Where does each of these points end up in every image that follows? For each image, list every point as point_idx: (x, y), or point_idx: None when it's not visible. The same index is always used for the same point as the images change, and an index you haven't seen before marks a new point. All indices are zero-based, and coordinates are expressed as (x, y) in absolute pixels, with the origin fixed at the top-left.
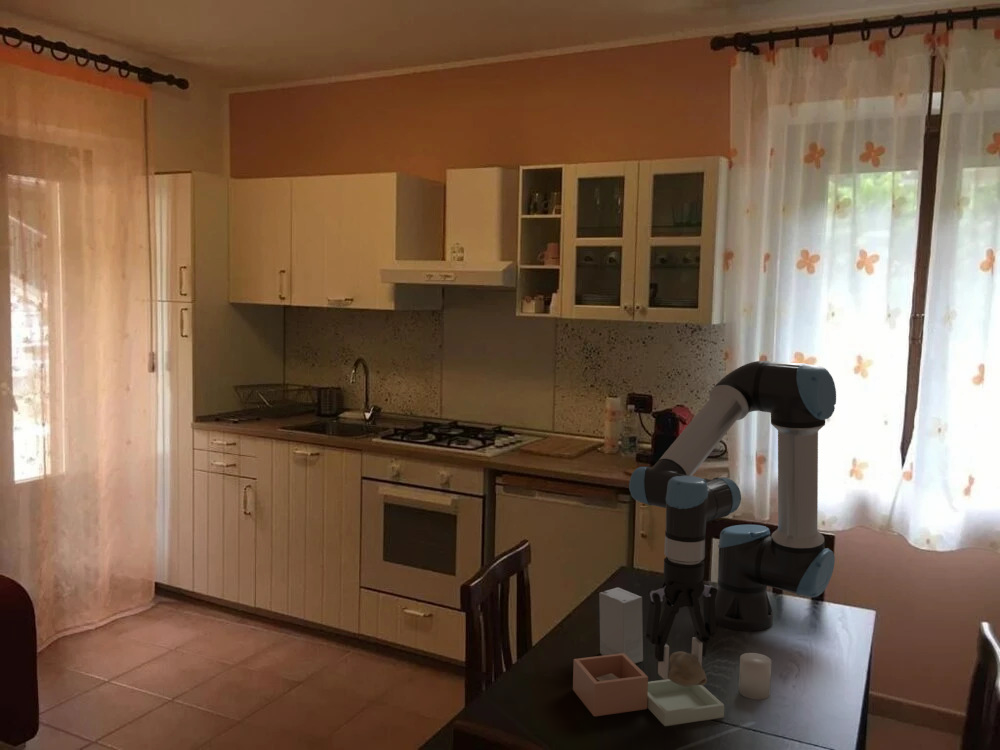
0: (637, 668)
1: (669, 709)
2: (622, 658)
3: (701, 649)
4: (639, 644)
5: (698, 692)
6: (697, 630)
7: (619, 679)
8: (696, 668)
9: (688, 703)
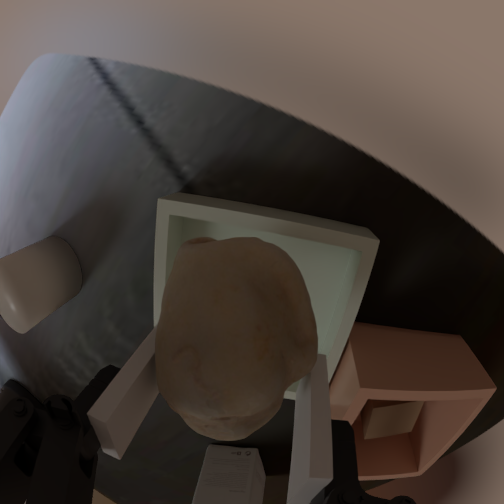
0: None
1: None
2: None
3: (110, 390)
4: (209, 475)
5: None
6: (81, 479)
7: (439, 397)
8: (208, 305)
9: None
